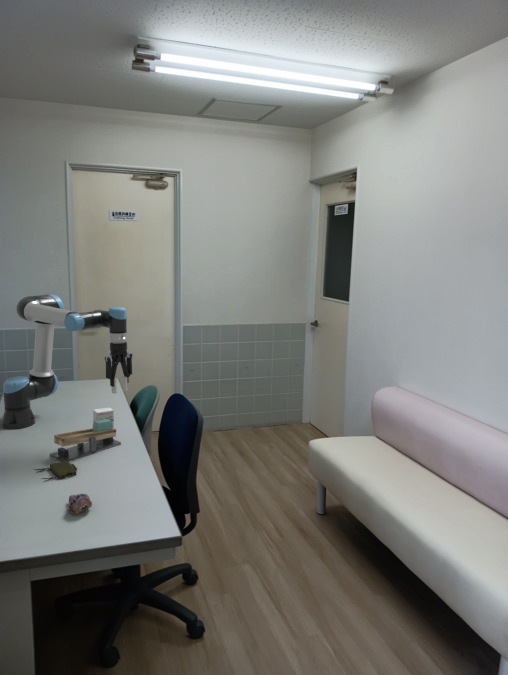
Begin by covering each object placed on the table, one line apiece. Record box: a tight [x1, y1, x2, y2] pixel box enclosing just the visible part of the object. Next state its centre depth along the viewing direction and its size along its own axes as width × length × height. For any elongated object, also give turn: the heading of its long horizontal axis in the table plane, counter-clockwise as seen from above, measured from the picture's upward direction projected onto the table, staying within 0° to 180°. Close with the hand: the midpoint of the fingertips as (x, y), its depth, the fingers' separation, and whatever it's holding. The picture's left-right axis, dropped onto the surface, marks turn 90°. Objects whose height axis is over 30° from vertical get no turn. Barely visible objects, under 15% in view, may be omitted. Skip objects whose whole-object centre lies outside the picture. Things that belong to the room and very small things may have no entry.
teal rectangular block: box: [92, 419, 112, 433], centre depth 226 cm, size 4×7×5 cm, turn 140°
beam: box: [53, 427, 117, 448], centre depth 220 cm, size 8×26×3 cm, turn 140°
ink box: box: [92, 406, 115, 429], centre depth 241 cm, size 9×5×12 cm, turn 123°
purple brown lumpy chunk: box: [67, 493, 93, 515], centre depth 172 cm, size 12×8×6 cm, turn 31°
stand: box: [49, 437, 122, 463], centre depth 221 cm, size 11×28×7 cm, turn 140°
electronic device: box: [32, 460, 78, 483], centre depth 198 cm, size 14×3×15 cm
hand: (119, 391), depth 231 cm, fingers open, 5 cm apart
